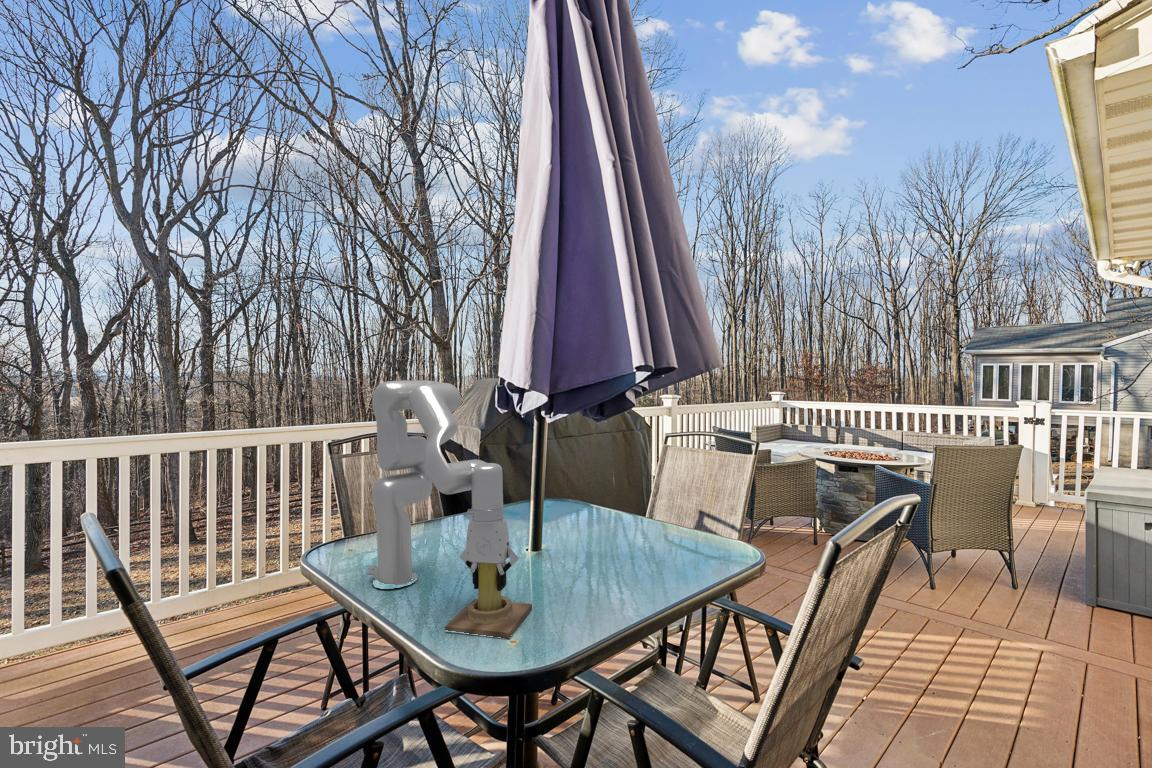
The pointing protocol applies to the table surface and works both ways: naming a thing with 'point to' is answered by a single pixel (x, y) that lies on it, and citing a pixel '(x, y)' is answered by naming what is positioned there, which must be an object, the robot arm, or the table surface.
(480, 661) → the table surface
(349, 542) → the table surface
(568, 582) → the table surface
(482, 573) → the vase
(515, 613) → the stand
